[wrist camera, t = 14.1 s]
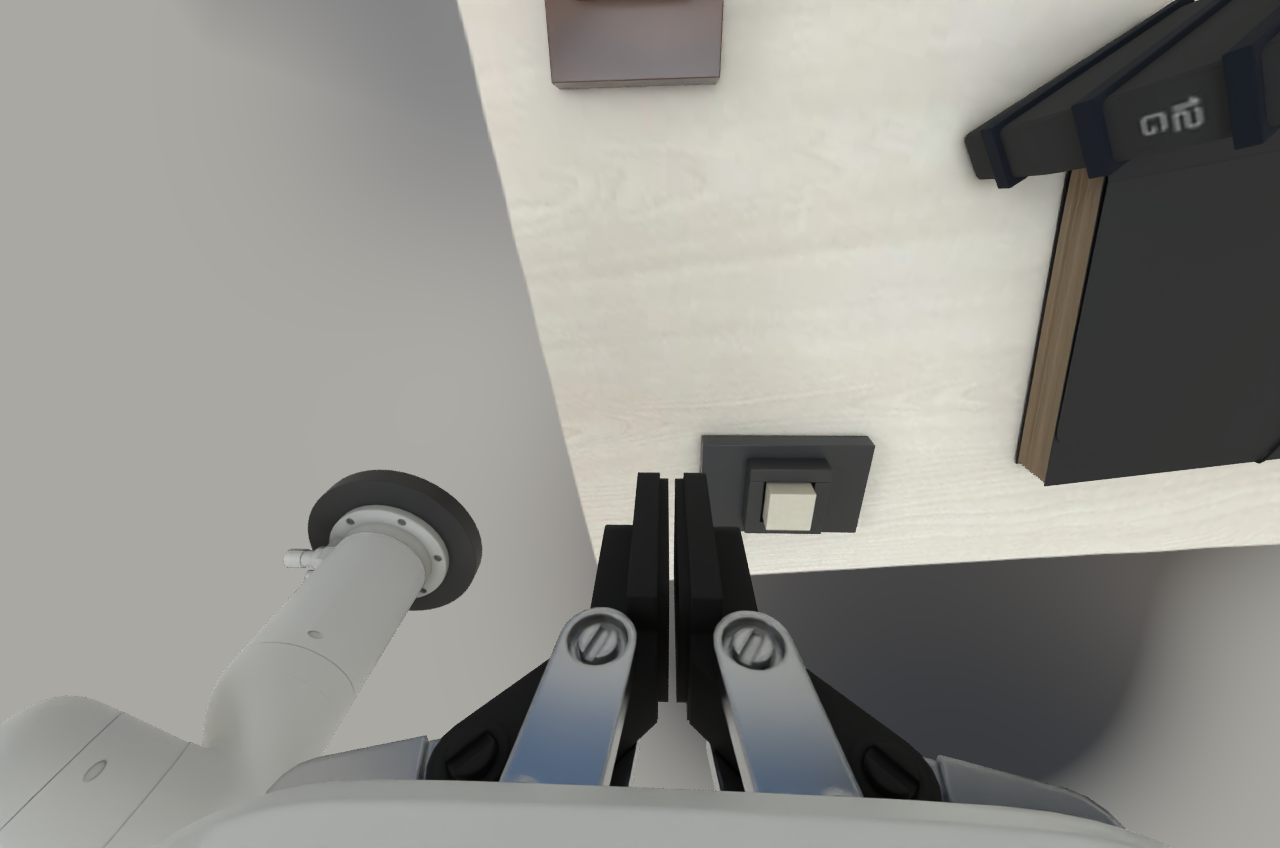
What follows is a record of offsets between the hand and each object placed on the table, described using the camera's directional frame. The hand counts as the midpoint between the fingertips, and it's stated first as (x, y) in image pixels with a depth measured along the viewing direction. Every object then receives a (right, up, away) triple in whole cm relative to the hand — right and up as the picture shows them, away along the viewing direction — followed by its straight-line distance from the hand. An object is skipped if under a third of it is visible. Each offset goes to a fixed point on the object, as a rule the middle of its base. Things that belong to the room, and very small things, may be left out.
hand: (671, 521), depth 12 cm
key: (+12, -4, +28) cm, 31 cm away
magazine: (+26, +23, +18) cm, 39 cm away
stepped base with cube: (+12, -3, +31) cm, 33 cm away
